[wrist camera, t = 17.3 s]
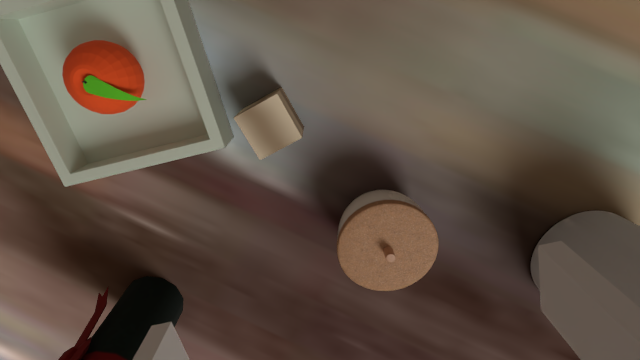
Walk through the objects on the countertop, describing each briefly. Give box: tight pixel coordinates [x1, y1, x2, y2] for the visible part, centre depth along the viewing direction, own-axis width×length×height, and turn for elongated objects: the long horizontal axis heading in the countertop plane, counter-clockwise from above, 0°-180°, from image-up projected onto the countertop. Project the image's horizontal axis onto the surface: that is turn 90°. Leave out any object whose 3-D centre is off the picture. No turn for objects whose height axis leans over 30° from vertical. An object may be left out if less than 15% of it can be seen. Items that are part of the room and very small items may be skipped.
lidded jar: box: [337, 190, 438, 291], centre depth 43 cm, size 11×11×9 cm
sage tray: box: [0, 0, 234, 187], centre depth 39 cm, size 18×18×4 cm
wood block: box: [234, 87, 304, 160], centre depth 41 cm, size 5×5×5 cm
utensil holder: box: [531, 211, 640, 307], centre depth 42 cm, size 15×15×18 cm
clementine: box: [62, 40, 147, 114], centre depth 37 cm, size 8×7×7 cm
